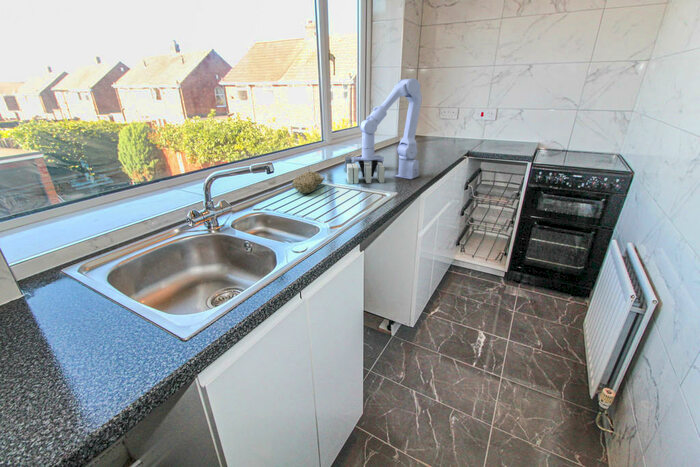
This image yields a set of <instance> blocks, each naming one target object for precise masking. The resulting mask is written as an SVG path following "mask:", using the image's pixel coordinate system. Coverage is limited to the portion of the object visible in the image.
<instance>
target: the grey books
mask: <svg viewBox="0 0 700 467" xmlns="http://www.w3.org/2000/svg"><path fill="white" fill-rule="evenodd" d="M352 157H355V156H354V155H350V156H349V155H348V156H347V155H346V156H344V169H345V172H346V173H347V164H354V163H356V162H352ZM378 163H382V164H383V165H384V161H378ZM370 166H371V165H370ZM371 167H372V166H371ZM374 172H377V166H376V169H375V171H374Z"/></svg>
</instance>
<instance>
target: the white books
mask: <svg viewBox="0 0 700 467" xmlns="http://www.w3.org/2000/svg"><path fill="white" fill-rule="evenodd" d="M359 172H360V171H359V164H358V163H357V162H355V163H354V164H347V172H346V180H347V184H348V185H352V184H355V185H356V184H359V182H360V181H359V180H360V179H359V176H360V175H359ZM376 179H377V181H378V183H379V184H381V183H382V184H383V183H385V166H384V163H383V164H382V163H378V165H377V171H376Z"/></svg>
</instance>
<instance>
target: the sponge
mask: <svg viewBox="0 0 700 467" xmlns="http://www.w3.org/2000/svg"><path fill="white" fill-rule="evenodd" d="M324 180H325V177H324V176H323V175H322V174H320V173H318V172H316V171H307V172H306V171H305V172H304V173H302V174H300V175H298V176H297V177H295V179H293V181H292V187H293V188H294V189H295V190H297V191H298V192H299V193H301V194H310V193H312V192H314V191H315V190H316V189H317V186H319V185H322V184H323V182H324Z"/></svg>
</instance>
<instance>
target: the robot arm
mask: <svg viewBox="0 0 700 467" xmlns="http://www.w3.org/2000/svg"><path fill="white" fill-rule="evenodd" d="M402 97H405V99H406V100H407V101H408V107H407V114H406V119H405V125H404V131H403V136H402V138H401V139H400V140H399V144H398V145H397V148H396V153H397V155H398V171H397V174H396V175H394V177H395V178H401V179H408V180H413V179H416V178H418V177H419V176H420V175H419V171H420V162H419V159H415V158H416V157H417V155H418V147H417V146H418V143H417V140H416V133H417V128H418V123H419V116H420V111H421V106H422V101H423V97H422V92H421V83H420V82H419V80H418V79H417V78H401V79H399V80H398V82H397V83H396V84H395V85H394V87H393V89H392V90H391V92H390V93H389V94H388V96H386V98H385V99H384V101H383V102H382V103H381V105H376V106H374V107H373V108H372V112H371V113H370V114H369V115H368V116H366V117H365V119H364V120H362V122H361V123H360V126H359V130H360V132H361V156H354V157H352V162H355V163H357V162H358V163H357V164H358V166H359V167H360V170H361V176H362V178H364V177H365V174H364V165H365V164H364V163H367V162H371V164H370V166H372V170H371V178H374V175H375V172H376V171H375V169H376V166H377V165H378V161H383V162H384V161H385V158H384V156H382V155H375V133H376V132H377V130H378V127H379V125H380V124H381V123H382V121H383V120H384V119H385V117H387V112H388V110H389V109H390V108H391V107H392V105H394V103H395V102H396V101H397V100H398V99H399V98H402Z"/></svg>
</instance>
